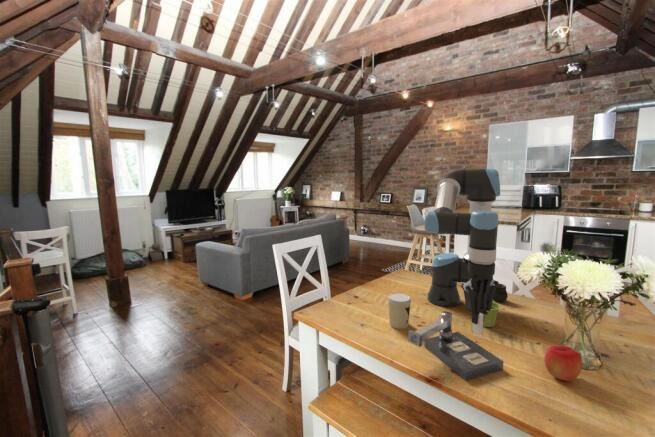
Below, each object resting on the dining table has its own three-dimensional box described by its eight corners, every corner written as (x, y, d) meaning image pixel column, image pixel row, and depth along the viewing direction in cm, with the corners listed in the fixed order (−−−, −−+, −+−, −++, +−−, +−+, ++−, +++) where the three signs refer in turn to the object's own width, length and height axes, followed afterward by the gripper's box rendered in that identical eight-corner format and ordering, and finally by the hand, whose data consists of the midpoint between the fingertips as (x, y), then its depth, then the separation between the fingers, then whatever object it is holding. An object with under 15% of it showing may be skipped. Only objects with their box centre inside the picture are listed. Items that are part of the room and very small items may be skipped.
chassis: (457, 338, 118) (457, 324, 117) (502, 369, 99) (504, 352, 98) (424, 346, 113) (424, 331, 112) (465, 380, 94) (467, 362, 93)
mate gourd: (507, 299, 154) (508, 280, 152) (506, 305, 147) (508, 285, 146) (490, 296, 157) (492, 277, 156) (489, 302, 151) (491, 282, 149)
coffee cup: (411, 330, 124) (411, 302, 123) (387, 328, 126) (387, 300, 124) (409, 320, 133) (410, 293, 132) (387, 318, 135) (388, 292, 133)
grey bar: (443, 325, 115) (443, 310, 114) (454, 329, 112) (455, 314, 111) (408, 344, 103) (408, 327, 102) (419, 350, 99) (419, 332, 98)
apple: (588, 384, 92) (592, 353, 91) (565, 391, 89) (568, 359, 88) (556, 365, 101) (559, 337, 100) (534, 371, 98) (537, 341, 97)
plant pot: (470, 324, 129) (471, 305, 127) (477, 316, 135) (479, 298, 134) (495, 332, 122) (496, 311, 121) (501, 323, 129) (503, 304, 128)
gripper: (487, 255, 101) (483, 323, 104) (455, 260, 96) (452, 330, 100) (508, 261, 94) (502, 334, 97) (474, 266, 89) (470, 342, 93)
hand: (477, 332), depth 99 cm, fingers closed
